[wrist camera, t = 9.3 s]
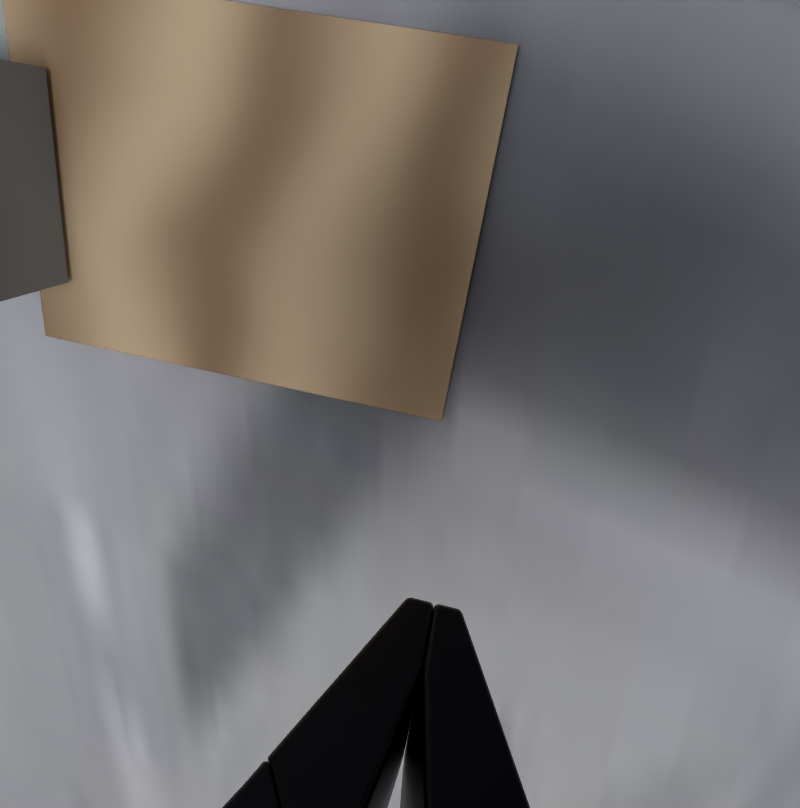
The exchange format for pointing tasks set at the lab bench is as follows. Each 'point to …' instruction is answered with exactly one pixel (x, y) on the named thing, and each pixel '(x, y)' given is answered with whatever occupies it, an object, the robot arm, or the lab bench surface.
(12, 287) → the thick grey slab block
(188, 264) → the cork mat
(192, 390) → the lab bench surface
